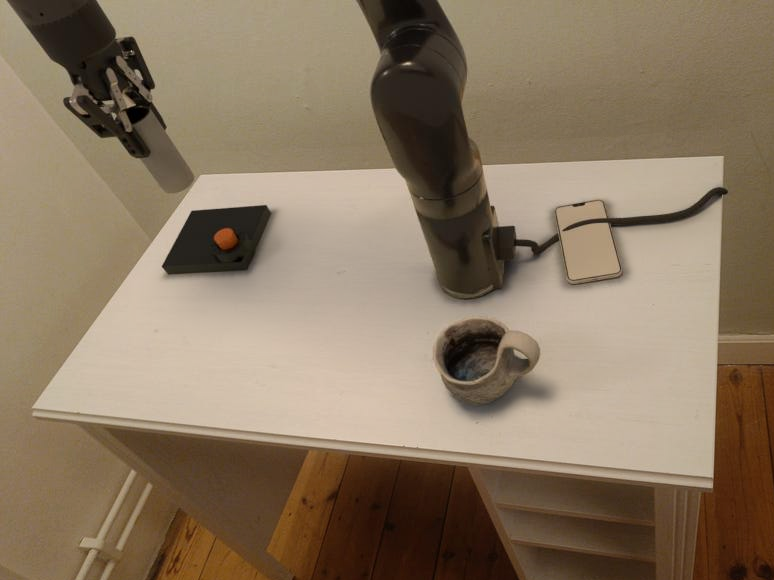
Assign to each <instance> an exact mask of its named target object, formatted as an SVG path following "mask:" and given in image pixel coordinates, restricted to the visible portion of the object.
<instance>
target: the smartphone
mask: <svg viewBox="0 0 774 580" xmlns="http://www.w3.org/2000/svg"><path fill="white" fill-rule="evenodd" d="M553 213H554V219H555V225H556V230H557V233H558V234H559V240H558V241H559V246H560V250H561V256H562V260H563V267H564V272H565V278H566V281H567V282H568V283H569V284H572V285H576V284H582V283H589V282H595V281H600V280H608V279H614V278H618V277H620V276H621V275H622V273H623V267H622V263H621V260H620V256H619V252H618V248H617V243H616V239H615V236H614V232H613V229H612V225H610V223H594V224H588V225H583V226H580V227H577V228H574V229H571V230H568V231H564V232H563V231H562V230H563V229H565V228H566V227H568V226H570V225H572V224H574V223H577V222H580V221H584V220H589V219H597V218H610V217H609V214H608V209H607V206H606V203H605V201H604V200H603V199H594V200H588V201H582V202H577V203H572V204H565V205H560V206H557V207H556V208H555V209H554V212H553Z"/></svg>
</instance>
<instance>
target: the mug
mask: <svg viewBox="0 0 774 580" xmlns="http://www.w3.org/2000/svg"><path fill="white" fill-rule="evenodd" d="M432 350H433V351H432V359H433V362H434V365H435V367H436V369H437V371H438V373H439V374H440V377H441V381H442V383H443V385H444V387H445V388H446V389H447V390H448V391H449V392H450V394H451V395H453V396H454V397H455V398H456V399H457V400H458V401H460V402H461V403H462V402H463V403H464V404H467V405H471V406H477V405H479V406H480V405H486V404H488V403H491V402H492V401H495V400H497V399H498V398H500V397H501V396H503V395H504V394H505V393H507V391H508V390H509V389H510V388H511V387H512V385H513V384H514V382H515V380H516V379H517V378H519V377H522V376H525V375H527V374H529V373H530V372H531V371H532V370H533V369H535V367H536V366H537V364H538V363H539V360H540V357H541V348H540V346H539V343H538V342H537V340H536V339H534V338H533V337H532V336H531V335H529V334H528V333H525V332H524V331H519V330H514V329H513V330H512V329H511V330H510V329H509V327H508V326H507V325H506V324H505V323H504V322H502V321H500V320H499V319H496V318H494V317H488V316H484V315H483V316H473V317H467V318H466V317H465V318H462V319H460V320H457V321H455V322H453V323H451V324H449V325H447V326H446V327H445V328H444V329H443V330H442V331H441V332H440V333H439V335H438V336H437V338H436V340H435V342H434V344H433V349H432ZM515 351H517V352H519V353H521V354H522V355H523V356H524V357H525V358H521V357H519V356H517V355H516V353H515Z"/></svg>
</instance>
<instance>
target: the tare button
mask: <svg viewBox="0 0 774 580" xmlns="http://www.w3.org/2000/svg"><path fill="white" fill-rule="evenodd" d="M214 240H215V241H216V243H217V244H218V246H219V247H220V248H221V249H222V250H227V249H230V248H232V247H234V246H235V245H236V244H237V243H238V238H237V237H236V235H235V234H234V232H233V231H232V229H229V228H225V229H222V230H220V231H218V232H217V233H216V234H215V236H214Z"/></svg>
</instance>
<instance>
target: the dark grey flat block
mask: <svg viewBox="0 0 774 580" xmlns="http://www.w3.org/2000/svg"><path fill="white" fill-rule="evenodd" d="M271 215H272V212H271V210H270V208H269V207H268V205H267V204H261V205H248V206H246V205H245V206H235V207H221V208H208V209H196V210H190V213H189V215H188V216H187V218H186V220H185V222H184V224H183V226H182V228H181V230H180V231H179V232H178V235H177V237H176V239H175V241H174V242H173V244H172V246H171V248H170V250H169V252H168V254H167V255H166V257H165V259H164V261H163V262H162V265H161V268H162V269H163V270H164V271H165V273H166V274H167V275H184V274H185V275H188V274H203V273H204V274H205V273H222V272H223V273H225V272H241V271H244V272H245V271H248V270H249V267H250V264H251V262H252V260H253V257H254V255H255V252H256V251H257V248H258V246H259V243H260V241H261V239H262V236H263V235H264V232H265V230H266V227H267V224H268V222H269V221H270V218H271ZM225 228H229V229H232V231H233V232H234V234H235V235H236V237H237V238H238V243H237V244H236V245H235V246H234V247H232V248H230V249H227V250H222V249H221V248H220V247H219V246H218V244H217V243H216V241H215V240H214V236H215V234H216V233H217V232H218V231H220V230H222V229H225Z"/></svg>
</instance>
